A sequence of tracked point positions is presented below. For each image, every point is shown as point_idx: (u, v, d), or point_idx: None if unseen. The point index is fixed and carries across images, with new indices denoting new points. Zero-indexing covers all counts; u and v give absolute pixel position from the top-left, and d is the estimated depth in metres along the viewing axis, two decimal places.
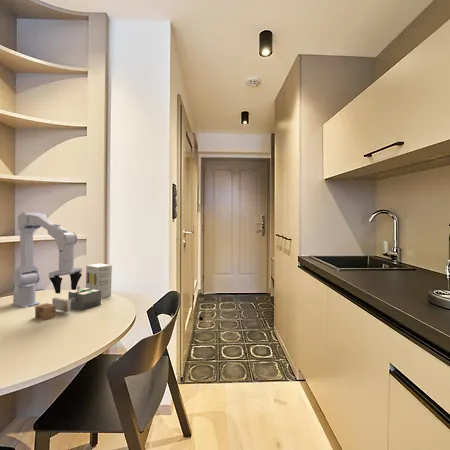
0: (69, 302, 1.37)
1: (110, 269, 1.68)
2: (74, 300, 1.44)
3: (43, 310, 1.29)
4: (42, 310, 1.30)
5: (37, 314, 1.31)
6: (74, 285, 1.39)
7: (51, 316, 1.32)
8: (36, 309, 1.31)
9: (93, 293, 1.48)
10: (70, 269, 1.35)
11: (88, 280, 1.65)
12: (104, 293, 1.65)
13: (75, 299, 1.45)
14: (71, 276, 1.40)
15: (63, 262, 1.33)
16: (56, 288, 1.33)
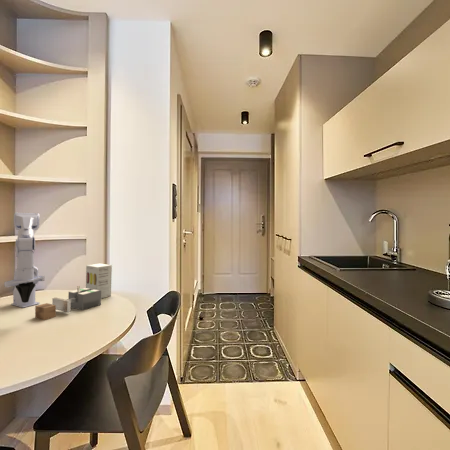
0: (69, 302, 1.37)
1: (110, 269, 1.68)
2: (74, 300, 1.44)
3: (43, 310, 1.29)
4: (42, 310, 1.30)
5: (37, 314, 1.31)
6: None
7: (51, 316, 1.32)
8: (36, 309, 1.31)
9: (93, 293, 1.48)
10: (29, 278, 1.23)
11: (88, 280, 1.65)
12: (104, 293, 1.65)
13: (75, 299, 1.45)
14: None
15: (21, 270, 1.22)
16: (22, 297, 1.24)
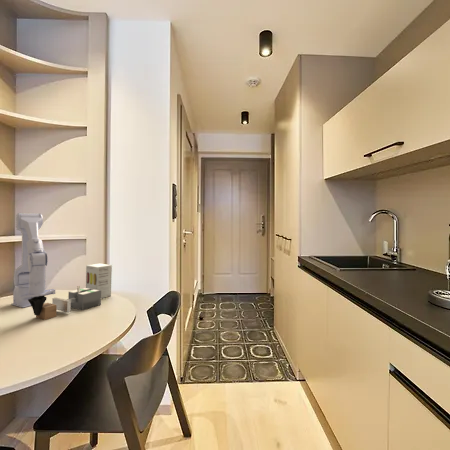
0: (69, 302, 1.37)
1: (110, 269, 1.68)
2: (74, 300, 1.44)
3: (44, 310, 1.30)
4: (43, 310, 1.30)
5: None
6: None
7: (52, 315, 1.32)
8: None
9: (93, 293, 1.48)
10: (41, 291, 1.28)
11: (88, 280, 1.65)
12: (104, 293, 1.65)
13: (75, 299, 1.45)
14: None
15: (33, 284, 1.26)
16: (35, 310, 1.29)
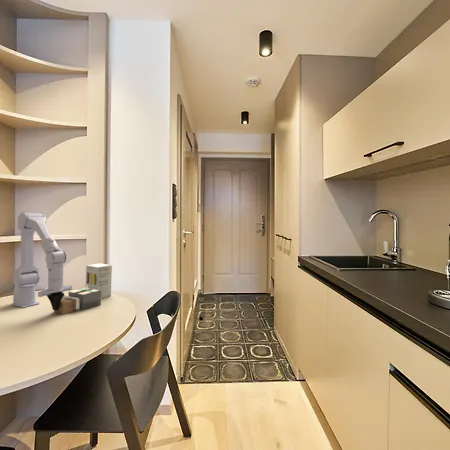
0: (78, 300, 1.41)
1: (110, 269, 1.68)
2: None
3: (62, 305, 1.37)
4: (61, 305, 1.37)
5: None
6: None
7: (69, 310, 1.39)
8: None
9: (93, 293, 1.48)
10: (59, 288, 1.35)
11: (88, 280, 1.65)
12: (104, 293, 1.65)
13: None
14: None
15: (52, 281, 1.34)
16: (53, 305, 1.36)
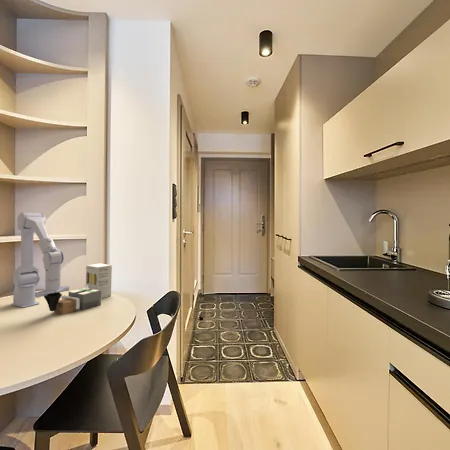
0: (78, 300, 1.41)
1: (110, 269, 1.68)
2: None
3: (62, 305, 1.37)
4: (61, 305, 1.37)
5: (56, 309, 1.39)
6: None
7: (69, 311, 1.40)
8: None
9: (93, 293, 1.48)
10: (57, 288, 1.34)
11: (87, 280, 1.65)
12: (104, 293, 1.65)
13: None
14: None
15: (49, 281, 1.32)
16: (50, 306, 1.35)
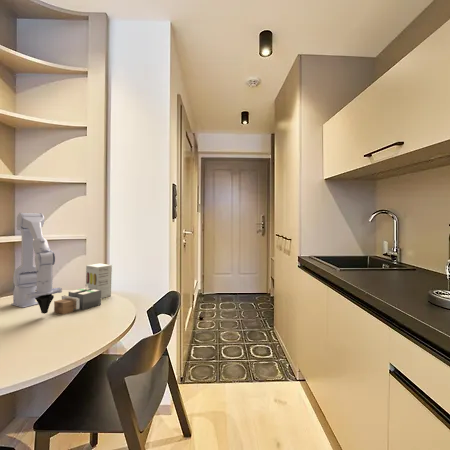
0: (78, 300, 1.41)
1: (110, 269, 1.68)
2: None
3: (62, 305, 1.37)
4: (61, 305, 1.37)
5: (56, 309, 1.39)
6: None
7: (69, 311, 1.40)
8: (55, 304, 1.39)
9: (93, 293, 1.48)
10: (48, 290, 1.31)
11: (87, 280, 1.65)
12: (104, 293, 1.65)
13: None
14: None
15: (41, 283, 1.29)
16: (42, 308, 1.32)
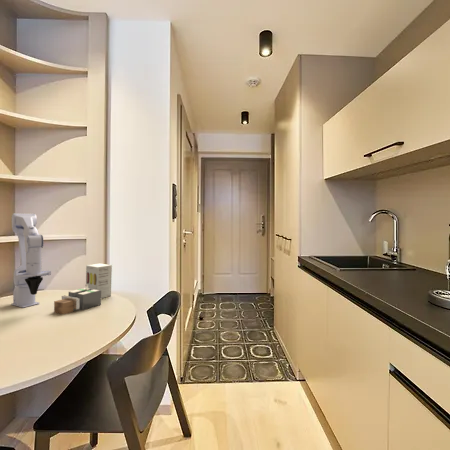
0: (78, 300, 1.41)
1: (110, 269, 1.68)
2: None
3: (62, 305, 1.37)
4: (61, 305, 1.37)
5: (56, 309, 1.39)
6: None
7: (69, 311, 1.40)
8: (55, 304, 1.39)
9: (93, 293, 1.48)
10: (37, 272, 1.35)
11: (88, 280, 1.65)
12: (104, 293, 1.65)
13: None
14: None
15: (30, 265, 1.34)
16: (31, 289, 1.36)
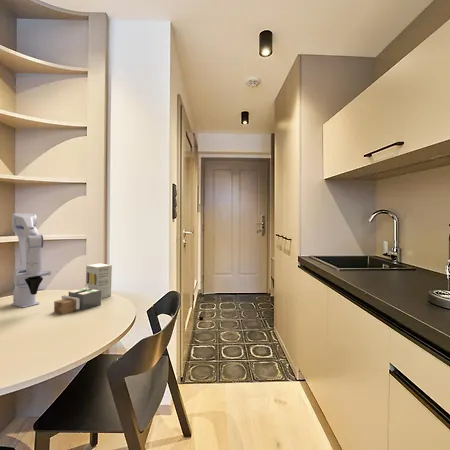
0: (78, 300, 1.41)
1: (110, 269, 1.68)
2: None
3: (62, 305, 1.37)
4: (61, 305, 1.37)
5: (56, 309, 1.39)
6: None
7: (69, 311, 1.40)
8: (55, 304, 1.39)
9: (93, 293, 1.48)
10: (37, 272, 1.35)
11: (88, 280, 1.65)
12: (104, 293, 1.65)
13: None
14: None
15: (30, 265, 1.34)
16: (31, 289, 1.36)
